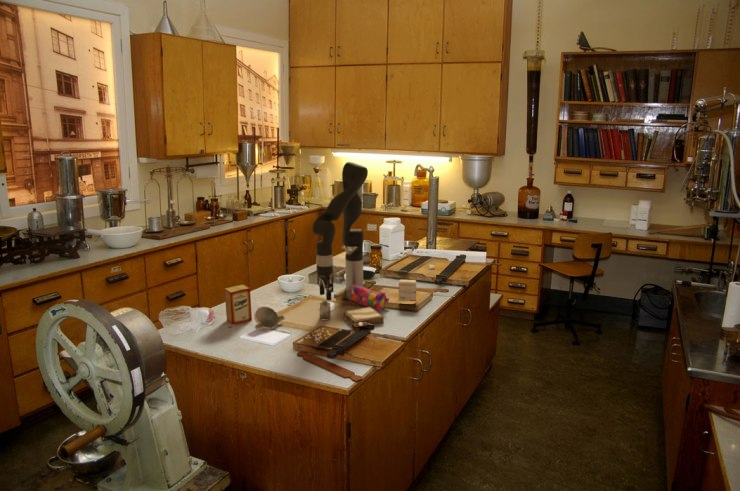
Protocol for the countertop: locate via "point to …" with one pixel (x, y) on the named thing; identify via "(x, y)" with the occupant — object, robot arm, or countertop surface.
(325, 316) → the weight
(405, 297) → the ink box
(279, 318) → the grey-brown rounded piece
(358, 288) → the pencil case
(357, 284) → the robot arm
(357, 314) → the tray
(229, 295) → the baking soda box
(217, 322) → the countertop surface
